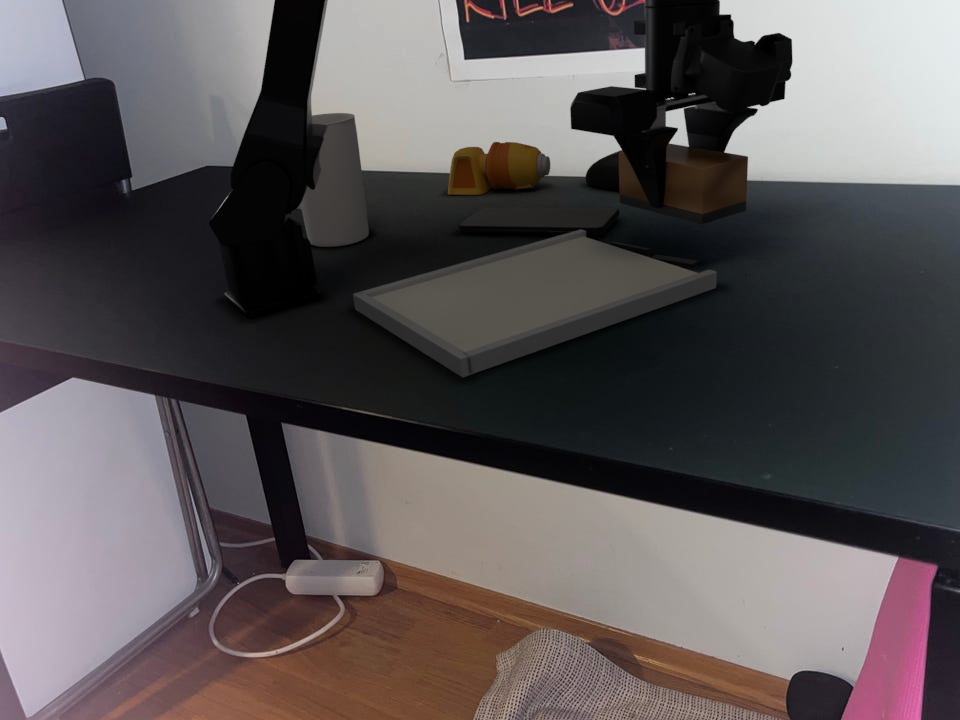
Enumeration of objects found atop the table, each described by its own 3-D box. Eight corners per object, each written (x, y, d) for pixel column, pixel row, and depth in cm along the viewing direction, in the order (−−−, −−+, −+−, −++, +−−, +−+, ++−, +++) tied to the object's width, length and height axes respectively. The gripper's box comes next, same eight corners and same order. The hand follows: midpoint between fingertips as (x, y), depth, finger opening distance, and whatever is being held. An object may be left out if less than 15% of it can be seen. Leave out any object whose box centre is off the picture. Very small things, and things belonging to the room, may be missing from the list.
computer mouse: (606, 173, 105) (605, 139, 103) (698, 181, 98) (699, 145, 96) (572, 188, 100) (570, 153, 98) (666, 197, 93) (666, 160, 91)
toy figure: (555, 184, 103) (459, 183, 107) (553, 136, 100) (456, 137, 104) (543, 196, 98) (444, 194, 102) (541, 146, 96) (440, 147, 100)
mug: (385, 231, 90) (368, 113, 85) (344, 250, 85) (324, 126, 80) (311, 224, 95) (291, 112, 90) (268, 242, 90) (245, 125, 85)
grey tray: (462, 378, 57) (460, 358, 56) (354, 309, 70) (352, 293, 70) (716, 288, 68) (717, 271, 67) (581, 243, 81) (581, 229, 80)
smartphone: (481, 206, 92) (620, 207, 87) (482, 215, 93) (620, 216, 87) (455, 225, 87) (602, 227, 81) (456, 234, 87) (603, 237, 81)
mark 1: (647, 249, 74) (650, 248, 75) (610, 242, 77) (613, 241, 77) (647, 261, 75) (650, 259, 75) (610, 253, 78) (613, 252, 78)
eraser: (702, 224, 69) (703, 168, 67) (619, 203, 77) (618, 152, 75) (746, 211, 72) (748, 156, 70) (661, 191, 79) (661, 141, 77)
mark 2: (698, 260, 73) (698, 265, 73) (656, 254, 75) (656, 258, 76) (692, 264, 72) (692, 268, 73) (650, 257, 75) (650, 262, 75)
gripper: (665, 17, 57) (664, 246, 64) (849, -10, 66) (832, 194, 72) (561, 17, 66) (570, 218, 72) (736, -7, 74) (730, 174, 81)
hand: (680, 201), depth 74 cm, fingers closed on eraser, 5 cm apart
